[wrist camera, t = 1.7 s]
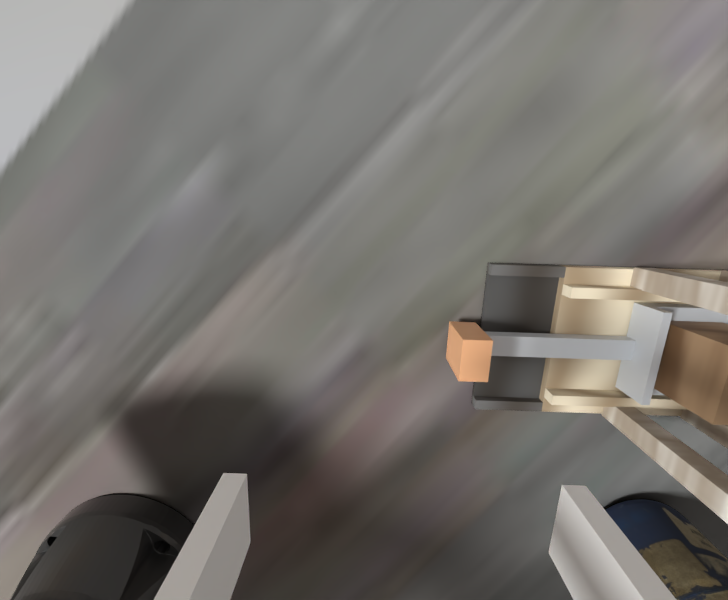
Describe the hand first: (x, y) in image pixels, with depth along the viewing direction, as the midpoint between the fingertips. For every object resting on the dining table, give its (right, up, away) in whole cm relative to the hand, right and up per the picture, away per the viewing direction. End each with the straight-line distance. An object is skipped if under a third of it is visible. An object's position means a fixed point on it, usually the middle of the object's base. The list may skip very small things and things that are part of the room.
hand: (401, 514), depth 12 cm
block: (+23, +3, +15) cm, 27 cm away
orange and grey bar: (+16, +4, +16) cm, 23 cm away
